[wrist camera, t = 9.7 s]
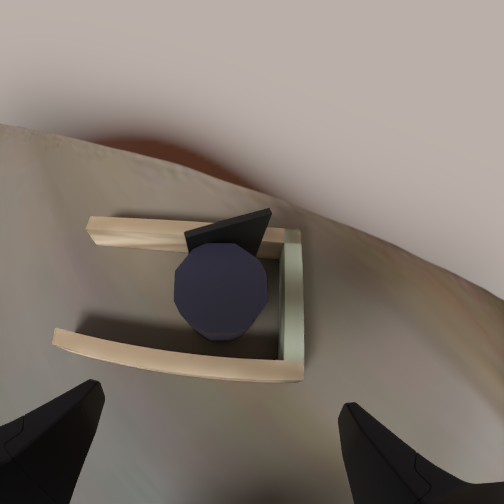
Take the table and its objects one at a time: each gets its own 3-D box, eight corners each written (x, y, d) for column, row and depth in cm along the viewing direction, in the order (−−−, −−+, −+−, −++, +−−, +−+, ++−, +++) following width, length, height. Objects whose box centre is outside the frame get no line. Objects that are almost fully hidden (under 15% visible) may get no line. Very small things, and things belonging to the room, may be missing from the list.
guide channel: (295, 382, 21) (303, 380, 18) (69, 351, 20) (52, 344, 18) (294, 247, 27) (300, 229, 25) (100, 233, 27) (90, 216, 24)
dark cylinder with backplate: (189, 262, 26) (176, 197, 16) (251, 264, 26) (271, 202, 17) (185, 344, 22) (162, 325, 13) (252, 346, 23) (276, 329, 14)
